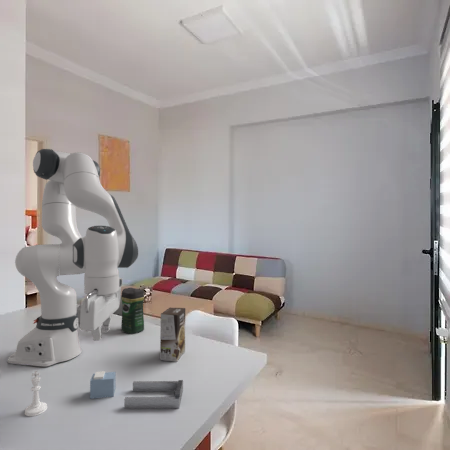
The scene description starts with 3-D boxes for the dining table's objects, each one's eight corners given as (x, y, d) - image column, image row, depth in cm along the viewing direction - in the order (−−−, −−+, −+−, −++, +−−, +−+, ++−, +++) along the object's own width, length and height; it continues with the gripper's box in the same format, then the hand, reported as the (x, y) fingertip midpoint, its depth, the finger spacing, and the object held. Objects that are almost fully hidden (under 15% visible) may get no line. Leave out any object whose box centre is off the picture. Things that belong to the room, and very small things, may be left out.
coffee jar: (147, 330, 138) (147, 288, 137) (132, 336, 131) (132, 291, 131) (133, 326, 143) (133, 285, 143) (118, 331, 137) (118, 288, 137)
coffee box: (177, 362, 108) (177, 314, 107) (159, 360, 109) (159, 313, 109) (186, 351, 117) (186, 307, 116) (169, 349, 118) (169, 306, 118)
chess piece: (31, 405, 82) (30, 366, 82) (50, 404, 83) (50, 366, 83) (20, 416, 78) (20, 376, 77) (41, 415, 78) (41, 375, 78)
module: (90, 399, 86) (90, 378, 85) (93, 391, 89) (93, 371, 89) (113, 396, 87) (113, 376, 87) (115, 389, 91) (115, 369, 91)
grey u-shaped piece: (124, 408, 81) (124, 396, 81) (133, 389, 90) (133, 378, 90) (179, 408, 81) (179, 395, 81) (183, 389, 90) (183, 378, 90)
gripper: (99, 295, 77) (99, 351, 77) (124, 278, 97) (124, 323, 97) (72, 294, 77) (72, 351, 77) (103, 278, 97) (103, 322, 97)
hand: (101, 335), depth 87 cm, fingers open, 5 cm apart
